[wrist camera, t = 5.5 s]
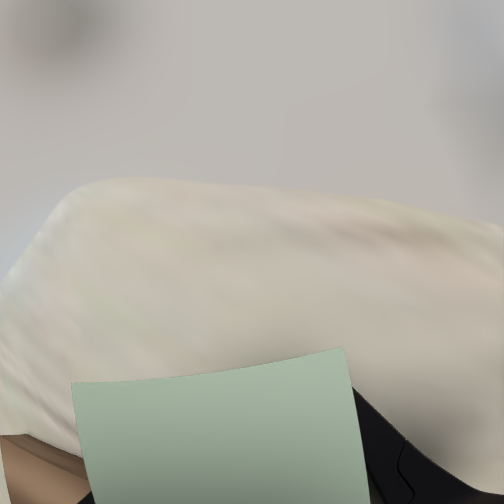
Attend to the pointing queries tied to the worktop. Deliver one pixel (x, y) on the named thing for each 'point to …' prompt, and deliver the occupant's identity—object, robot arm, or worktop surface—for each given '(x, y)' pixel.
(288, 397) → the sage block
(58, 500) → the walnut base
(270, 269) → the worktop surface
